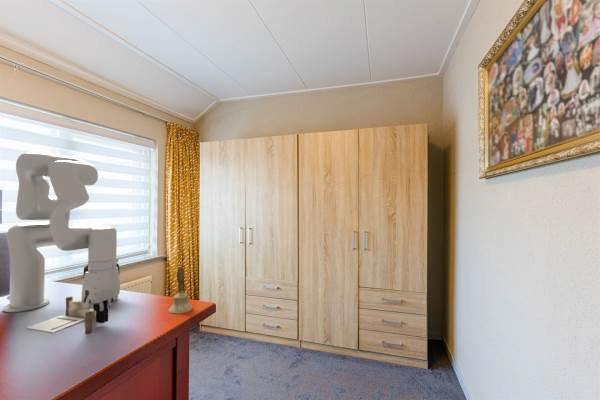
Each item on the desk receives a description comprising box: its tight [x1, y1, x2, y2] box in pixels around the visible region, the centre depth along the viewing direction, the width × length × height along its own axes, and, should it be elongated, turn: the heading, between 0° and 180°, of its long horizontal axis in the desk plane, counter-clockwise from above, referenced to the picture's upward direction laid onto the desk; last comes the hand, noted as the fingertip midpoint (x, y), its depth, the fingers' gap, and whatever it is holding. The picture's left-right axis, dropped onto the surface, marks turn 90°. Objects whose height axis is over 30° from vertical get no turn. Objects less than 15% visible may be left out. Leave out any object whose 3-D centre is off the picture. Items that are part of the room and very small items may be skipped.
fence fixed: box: [65, 296, 90, 319], centre depth 99 cm, size 14×2×6 cm, turn 74°
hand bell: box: [168, 266, 193, 315], centre depth 105 cm, size 8×8×16 cm
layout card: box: [26, 315, 85, 334], centre depth 92 cm, size 12×10×1 cm
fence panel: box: [84, 309, 96, 334], centre depth 91 cm, size 12×2×6 cm, turn 29°
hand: (102, 321), depth 91 cm, fingers closed
